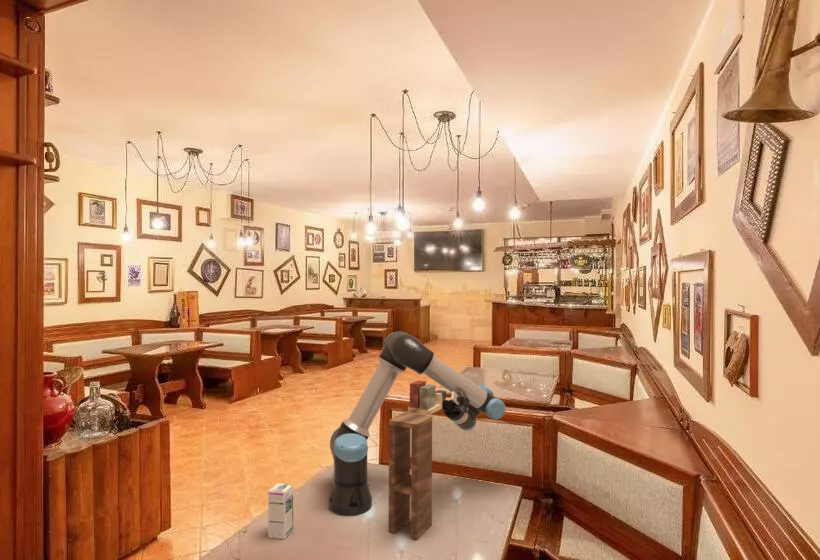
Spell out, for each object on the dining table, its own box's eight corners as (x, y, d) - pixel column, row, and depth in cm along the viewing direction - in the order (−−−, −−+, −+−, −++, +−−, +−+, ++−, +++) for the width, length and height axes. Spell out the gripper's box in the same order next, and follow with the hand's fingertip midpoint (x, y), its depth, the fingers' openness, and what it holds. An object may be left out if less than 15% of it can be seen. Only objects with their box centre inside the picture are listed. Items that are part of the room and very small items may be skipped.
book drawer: (408, 411, 157) (408, 383, 157) (432, 400, 174) (432, 374, 174) (429, 415, 153) (429, 385, 153) (452, 402, 170) (452, 376, 170)
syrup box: (285, 539, 143) (285, 491, 143) (267, 537, 144) (267, 489, 144) (293, 530, 148) (294, 484, 149) (276, 528, 149) (276, 482, 150)
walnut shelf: (388, 532, 147) (389, 420, 148) (404, 518, 156) (405, 412, 157) (416, 540, 143) (417, 424, 143) (431, 525, 152) (432, 416, 152)
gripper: (484, 425, 175) (466, 407, 159) (425, 416, 187) (402, 399, 171) (487, 405, 179) (470, 386, 163) (429, 398, 190) (407, 379, 174)
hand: (435, 393), depth 167 cm, fingers open, 12 cm apart
